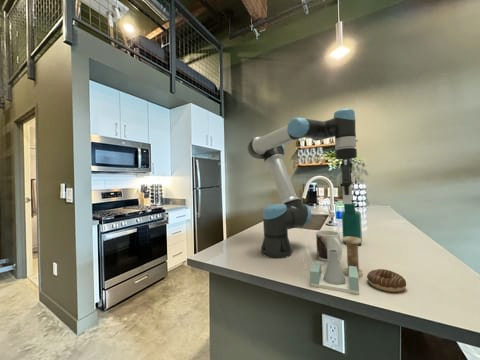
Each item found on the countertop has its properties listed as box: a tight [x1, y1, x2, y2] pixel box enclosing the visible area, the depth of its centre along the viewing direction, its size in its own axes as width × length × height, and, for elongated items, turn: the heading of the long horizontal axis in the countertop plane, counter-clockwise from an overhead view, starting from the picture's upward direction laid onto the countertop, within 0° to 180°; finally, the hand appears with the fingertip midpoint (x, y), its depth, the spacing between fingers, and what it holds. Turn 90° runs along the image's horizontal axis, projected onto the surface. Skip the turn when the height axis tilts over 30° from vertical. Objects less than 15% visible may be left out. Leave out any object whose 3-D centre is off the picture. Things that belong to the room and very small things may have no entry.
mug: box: [315, 229, 343, 262], centre depth 94 cm, size 10×12×11 cm
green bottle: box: [341, 202, 363, 246], centre depth 113 cm, size 10×8×22 cm
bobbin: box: [342, 236, 364, 278], centre depth 78 cm, size 6×6×13 cm
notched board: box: [310, 261, 360, 295], centre depth 71 cm, size 14×9×5 cm, turn 64°
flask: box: [323, 249, 346, 284], centre depth 72 cm, size 7×7×10 cm
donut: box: [366, 268, 407, 293], centre depth 69 cm, size 11×11×4 cm
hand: (348, 201), depth 84 cm, fingers open, 13 cm apart
